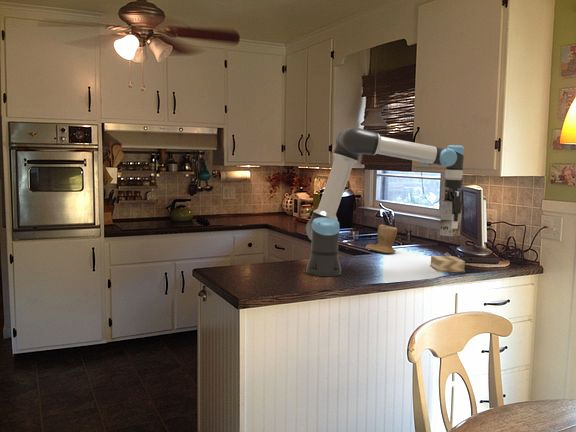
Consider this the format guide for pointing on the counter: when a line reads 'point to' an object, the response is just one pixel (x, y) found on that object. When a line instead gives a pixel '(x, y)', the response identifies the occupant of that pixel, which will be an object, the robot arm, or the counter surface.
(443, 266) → the maple riser
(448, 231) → the coffee box
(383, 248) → the tan boot
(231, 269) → the counter surface
